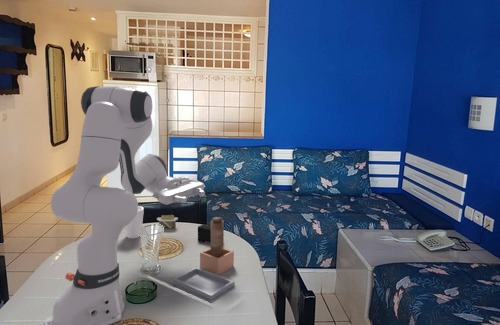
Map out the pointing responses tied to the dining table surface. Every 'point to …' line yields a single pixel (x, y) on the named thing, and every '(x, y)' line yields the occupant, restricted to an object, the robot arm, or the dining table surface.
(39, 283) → the dining table surface
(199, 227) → the digital camera
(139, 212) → the foam cup
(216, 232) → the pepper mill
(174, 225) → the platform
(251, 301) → the dining table surface
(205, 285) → the tray
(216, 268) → the orange open box
